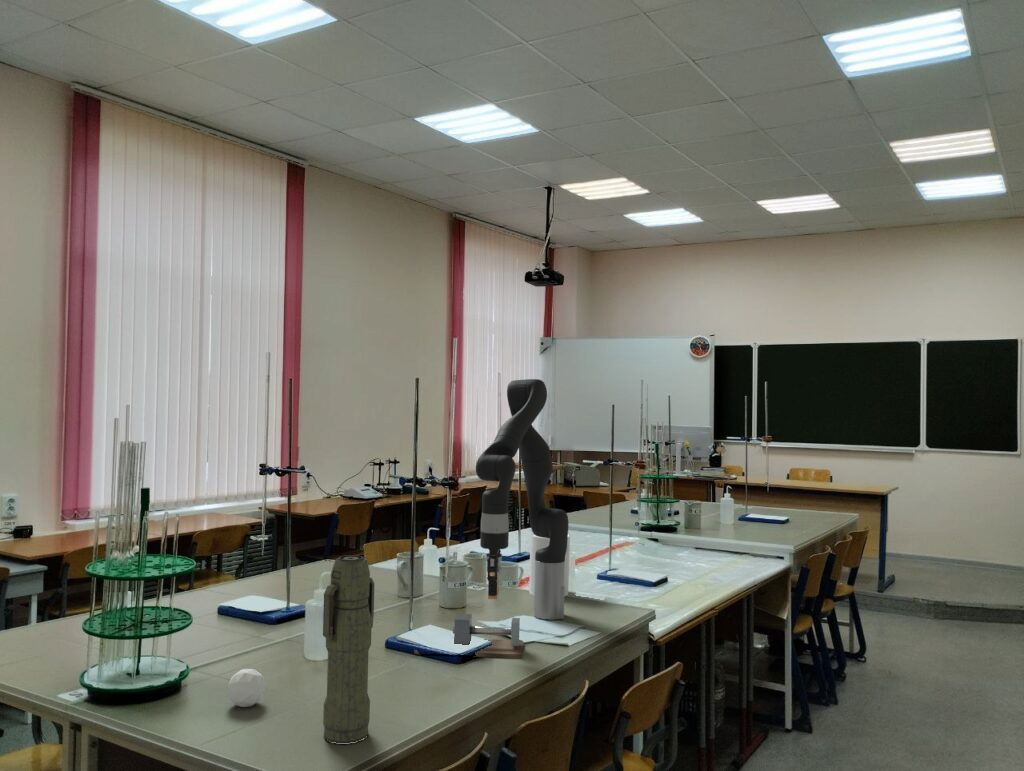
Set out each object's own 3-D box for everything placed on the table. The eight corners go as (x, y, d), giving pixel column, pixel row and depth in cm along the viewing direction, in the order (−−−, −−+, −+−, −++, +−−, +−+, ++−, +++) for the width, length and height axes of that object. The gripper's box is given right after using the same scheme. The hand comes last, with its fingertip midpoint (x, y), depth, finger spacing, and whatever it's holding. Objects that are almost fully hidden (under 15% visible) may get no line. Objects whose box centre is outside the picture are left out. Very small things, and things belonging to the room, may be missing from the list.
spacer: (498, 593, 217) (499, 571, 217) (497, 599, 211) (497, 576, 211) (489, 593, 217) (490, 571, 218) (488, 598, 212) (488, 576, 212)
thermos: (307, 741, 155) (312, 559, 156) (348, 720, 166) (353, 550, 166) (342, 752, 151) (347, 565, 152) (382, 730, 161) (387, 555, 162)
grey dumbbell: (519, 640, 216) (519, 618, 216) (518, 646, 211) (519, 623, 211) (454, 637, 217) (454, 615, 217) (451, 643, 212) (452, 620, 212)
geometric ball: (255, 718, 172) (273, 692, 170) (220, 711, 168) (237, 685, 166) (254, 690, 179) (271, 665, 177) (220, 682, 175) (237, 657, 173)
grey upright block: (471, 641, 217) (471, 614, 218) (469, 648, 211) (469, 620, 212) (456, 641, 218) (457, 613, 218) (453, 648, 212) (454, 619, 212)
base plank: (523, 644, 220) (523, 640, 220) (521, 658, 208) (521, 654, 208) (421, 640, 221) (421, 636, 221) (414, 654, 209) (414, 650, 209)
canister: (543, 586, 288) (544, 530, 288) (575, 592, 280) (576, 534, 280) (521, 593, 277) (523, 535, 277) (554, 599, 269) (556, 539, 269)
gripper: (507, 534, 207) (505, 599, 207) (510, 525, 222) (508, 586, 221) (478, 533, 208) (476, 599, 208) (482, 524, 222) (481, 585, 222)
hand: (493, 592), depth 215 cm, fingers closed on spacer, 6 cm apart
